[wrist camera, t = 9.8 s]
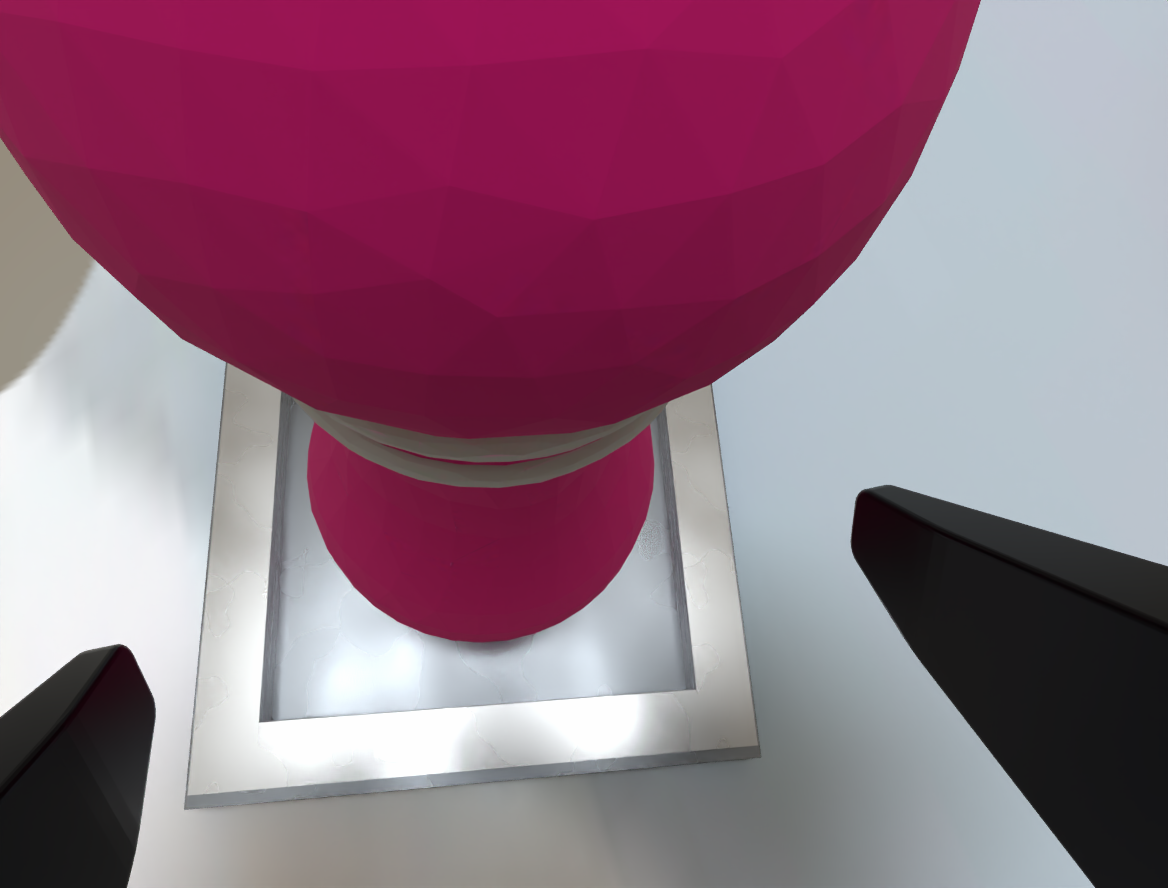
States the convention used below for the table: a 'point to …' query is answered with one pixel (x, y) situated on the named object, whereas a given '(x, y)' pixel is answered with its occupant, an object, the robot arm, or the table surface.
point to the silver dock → (454, 642)
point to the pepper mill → (476, 236)
